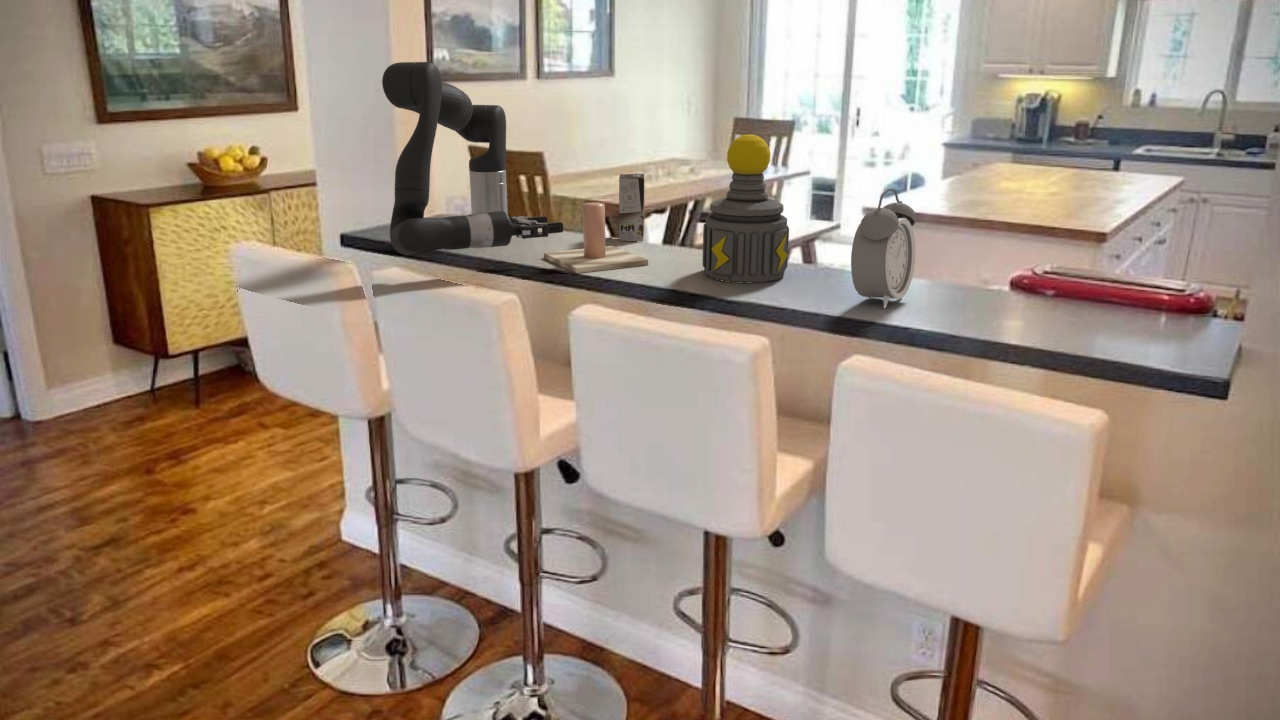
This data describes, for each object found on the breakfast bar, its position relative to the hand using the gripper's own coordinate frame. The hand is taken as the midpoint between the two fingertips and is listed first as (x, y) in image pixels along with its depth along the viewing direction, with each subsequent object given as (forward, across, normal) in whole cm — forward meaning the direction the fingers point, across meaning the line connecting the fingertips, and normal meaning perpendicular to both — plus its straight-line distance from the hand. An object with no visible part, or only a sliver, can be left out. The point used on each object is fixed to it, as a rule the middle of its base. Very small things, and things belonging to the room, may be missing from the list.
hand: (554, 224), depth 213 cm
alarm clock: (+43, -59, +10) cm, 74 cm away
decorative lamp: (+33, -27, +10) cm, 44 cm away
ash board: (+10, 0, +10) cm, 14 cm away
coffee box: (+31, +21, +10) cm, 39 cm away
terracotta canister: (+10, 0, +8) cm, 13 cm away
